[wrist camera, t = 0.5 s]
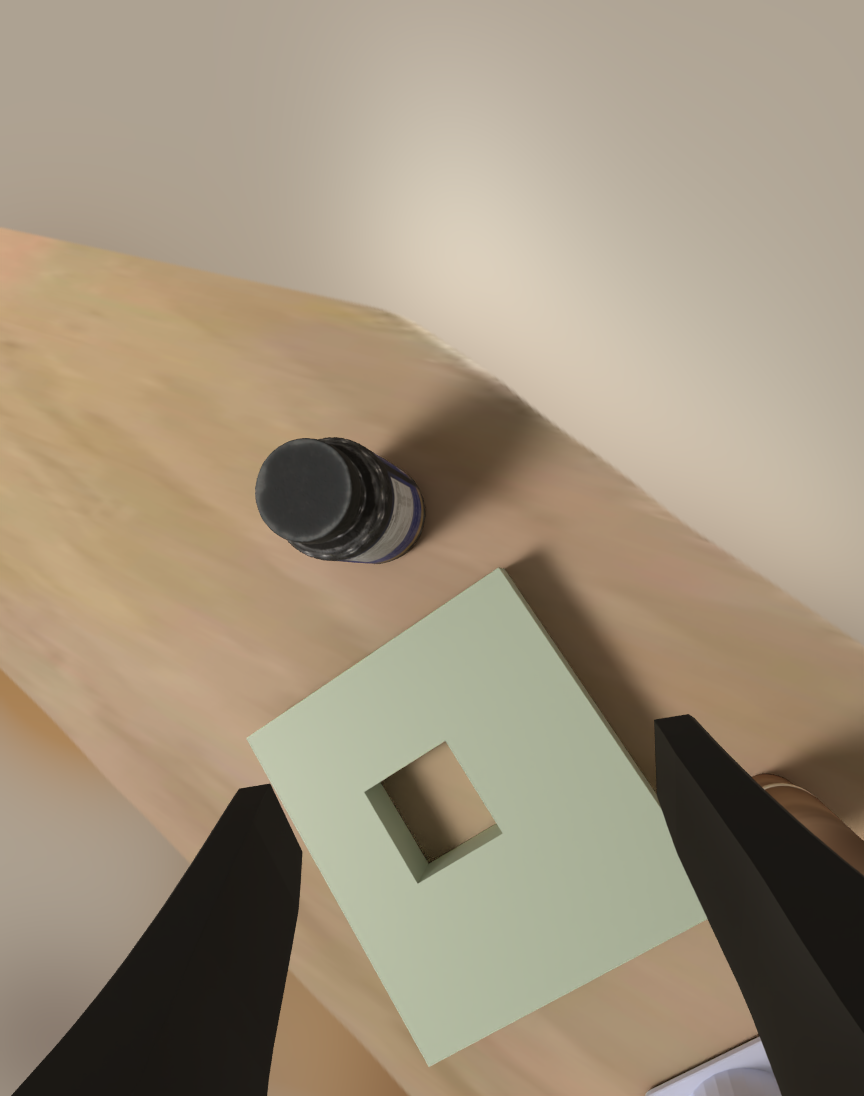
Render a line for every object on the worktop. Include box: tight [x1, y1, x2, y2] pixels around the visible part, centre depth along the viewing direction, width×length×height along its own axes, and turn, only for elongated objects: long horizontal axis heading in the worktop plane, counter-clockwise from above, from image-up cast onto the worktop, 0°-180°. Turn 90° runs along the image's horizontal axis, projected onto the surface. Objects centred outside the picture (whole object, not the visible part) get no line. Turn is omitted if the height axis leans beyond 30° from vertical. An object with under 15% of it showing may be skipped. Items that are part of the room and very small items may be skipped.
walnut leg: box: [752, 774, 864, 875], centre depth 29 cm, size 4×4×8 cm
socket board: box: [246, 568, 707, 1067], centre depth 35 cm, size 20×18×2 cm
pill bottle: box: [255, 437, 425, 564], centre depth 33 cm, size 6×6×11 cm
